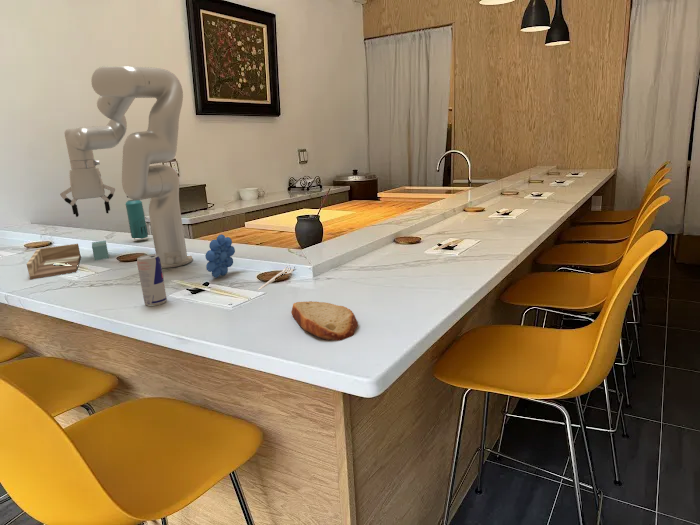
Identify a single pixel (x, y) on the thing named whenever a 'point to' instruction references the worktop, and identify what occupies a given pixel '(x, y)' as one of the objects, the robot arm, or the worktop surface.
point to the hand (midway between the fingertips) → (92, 214)
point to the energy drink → (151, 279)
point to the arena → (53, 261)
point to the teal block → (100, 250)
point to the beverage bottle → (136, 219)
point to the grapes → (220, 256)
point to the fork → (277, 276)
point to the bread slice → (325, 320)
